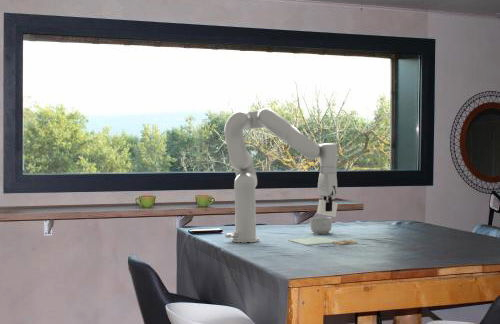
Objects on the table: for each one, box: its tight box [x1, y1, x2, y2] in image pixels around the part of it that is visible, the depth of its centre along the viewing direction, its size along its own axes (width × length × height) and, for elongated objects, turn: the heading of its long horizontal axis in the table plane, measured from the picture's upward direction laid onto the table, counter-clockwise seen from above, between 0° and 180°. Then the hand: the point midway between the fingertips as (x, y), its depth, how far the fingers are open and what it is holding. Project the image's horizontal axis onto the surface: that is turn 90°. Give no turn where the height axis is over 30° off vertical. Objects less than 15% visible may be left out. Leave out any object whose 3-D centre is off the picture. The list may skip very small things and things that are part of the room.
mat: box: [287, 236, 337, 246], centre depth 309 cm, size 18×16×1 cm
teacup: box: [309, 216, 333, 235], centre depth 337 cm, size 14×11×8 cm
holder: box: [332, 239, 358, 246], centre depth 302 cm, size 10×5×1 cm, turn 117°
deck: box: [316, 199, 338, 218], centre depth 306 cm, size 9×2×6 cm, turn 116°
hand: (327, 210), depth 306 cm, fingers closed on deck, 1 cm apart
